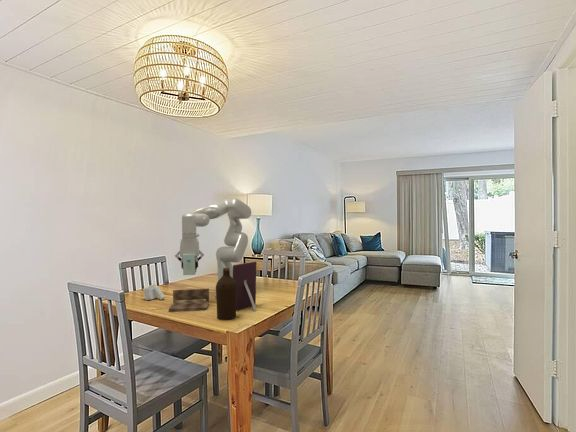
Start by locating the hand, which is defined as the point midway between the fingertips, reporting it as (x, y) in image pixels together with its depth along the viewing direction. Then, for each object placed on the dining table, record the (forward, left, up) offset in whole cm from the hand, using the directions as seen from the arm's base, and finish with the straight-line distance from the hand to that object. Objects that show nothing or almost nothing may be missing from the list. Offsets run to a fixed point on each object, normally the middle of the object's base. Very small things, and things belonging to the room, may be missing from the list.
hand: (189, 268), depth 177 cm
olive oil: (-20, +18, -22) cm, 35 cm away
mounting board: (+1, -3, -22) cm, 22 cm away
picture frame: (-32, +7, -22) cm, 40 cm away
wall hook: (+24, -24, -22) cm, 41 cm away
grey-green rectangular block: (0, 0, -3) cm, 3 cm away
